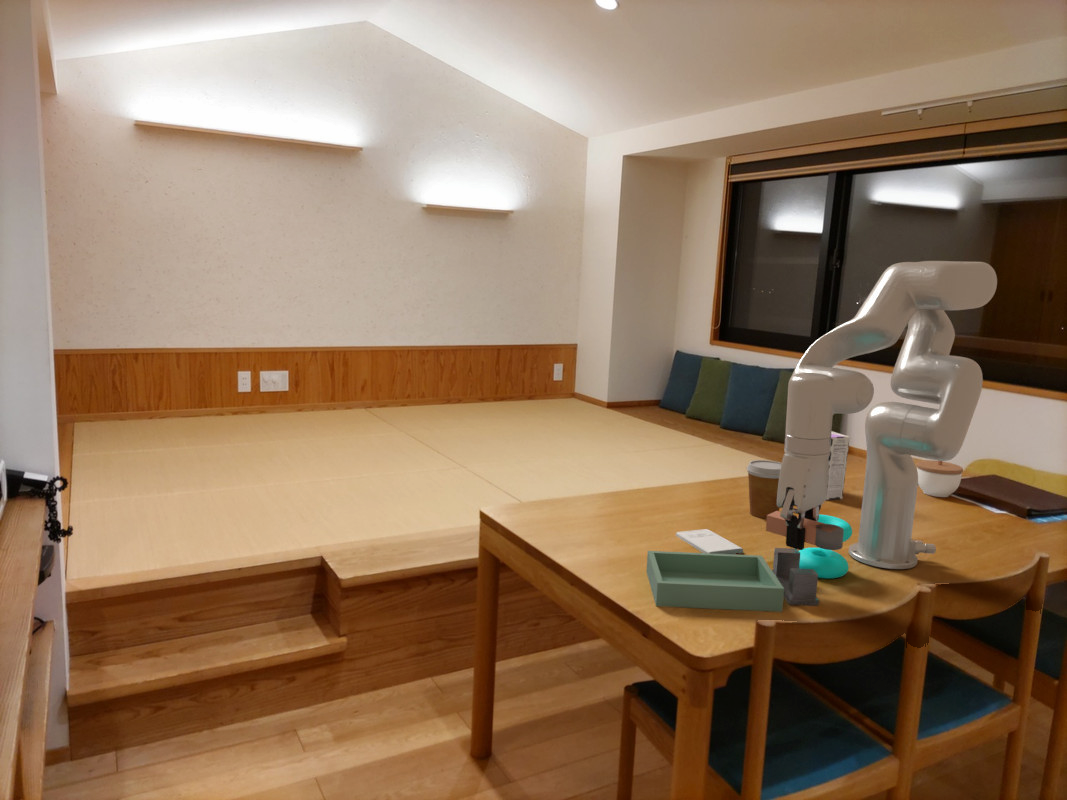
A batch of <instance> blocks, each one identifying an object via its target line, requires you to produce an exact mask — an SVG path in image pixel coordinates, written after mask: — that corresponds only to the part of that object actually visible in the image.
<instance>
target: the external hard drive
mask: <svg viewBox="0 0 1067 800" xmlns="http://www.w3.org/2000/svg"><path fill="white" fill-rule="evenodd" d="M676 536H677V537H679V538H680V539H679V538H678V539H679V540H681V539H682V540H683V541H682V540H681V541H682V542H684V541H685V542H687V543H688V544H690V545H691V547H692V546H693V547H694V548H693V547H692V548H693V549H695V548H696V549H697V550H696V549H695V550H696V551H698V550H699V551H698V552H700V551H701V552H702V553H711V554H734V555H737V554H736V553H739V554H744V548H742V547H741V546H739V545H737V544H736V543H733V542H732V541H730V540H728V539H726V538H724V537H723V536H721V535H719V534H717V533H716V532H715V531H712V530H710V529H708V528H704V529H693V530H685V531H677V532H676V533H675V537H676ZM677 537H676V538H677ZM685 542H684V543H685ZM687 543H686V544H687ZM688 544H687V545H688ZM690 545H689V546H690ZM701 552H700V553H701Z"/></svg>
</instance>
